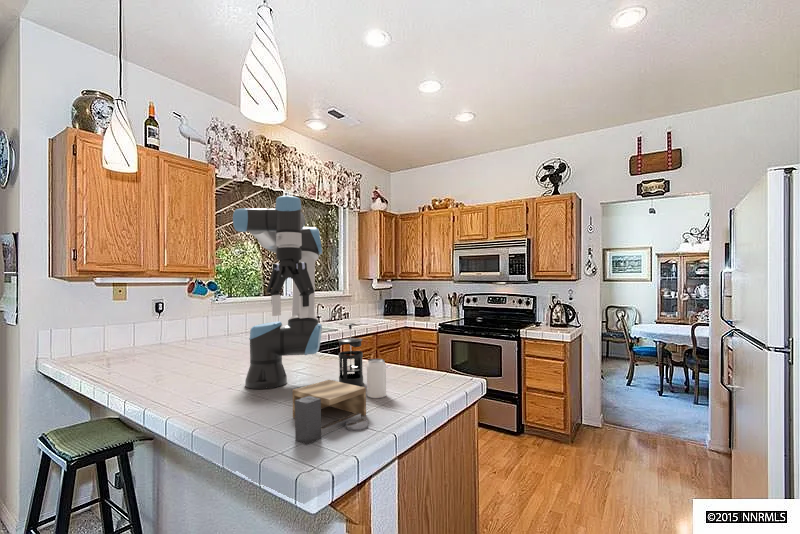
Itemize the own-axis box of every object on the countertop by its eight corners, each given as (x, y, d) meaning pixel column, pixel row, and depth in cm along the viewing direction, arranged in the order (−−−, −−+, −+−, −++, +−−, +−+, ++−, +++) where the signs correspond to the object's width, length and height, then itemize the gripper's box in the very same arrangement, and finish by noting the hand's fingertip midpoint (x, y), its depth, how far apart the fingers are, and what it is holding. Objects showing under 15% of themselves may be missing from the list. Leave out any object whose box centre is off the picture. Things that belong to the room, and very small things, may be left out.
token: (341, 428, 109) (341, 423, 109) (357, 422, 114) (357, 417, 114) (356, 433, 105) (356, 428, 105) (372, 427, 110) (372, 421, 110)
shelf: (292, 417, 117) (292, 389, 117) (329, 404, 128) (328, 379, 128) (330, 429, 107) (329, 399, 108) (366, 415, 118) (365, 387, 118)
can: (383, 399, 133) (383, 362, 134) (365, 398, 135) (364, 362, 135) (388, 393, 140) (387, 358, 140) (370, 392, 141) (369, 358, 141)
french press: (355, 390, 144) (354, 325, 145) (332, 387, 148) (331, 324, 148) (370, 381, 155) (369, 322, 156) (348, 379, 159) (347, 321, 159)
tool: (295, 440, 101) (294, 400, 101) (353, 416, 117) (352, 382, 117) (307, 444, 98) (306, 403, 98) (364, 420, 114) (364, 384, 114)
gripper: (255, 249, 129) (255, 315, 128) (305, 244, 113) (306, 320, 113) (275, 249, 134) (276, 313, 134) (325, 245, 119) (326, 317, 119)
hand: (289, 316), depth 123 cm, fingers open, 13 cm apart
